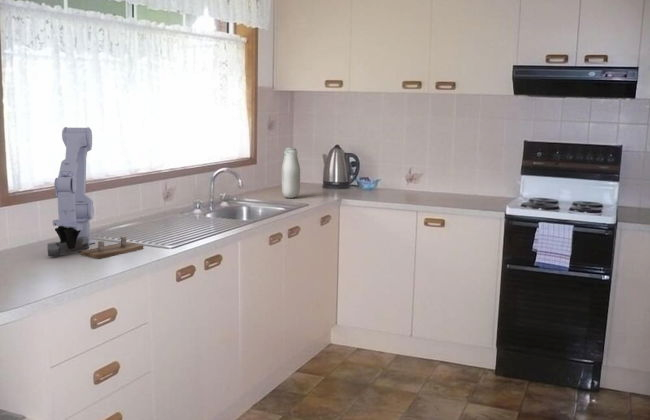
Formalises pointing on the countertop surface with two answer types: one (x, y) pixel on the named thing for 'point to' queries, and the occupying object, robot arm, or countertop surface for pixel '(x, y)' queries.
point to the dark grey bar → (62, 246)
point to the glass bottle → (290, 173)
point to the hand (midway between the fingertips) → (68, 247)
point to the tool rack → (111, 249)
